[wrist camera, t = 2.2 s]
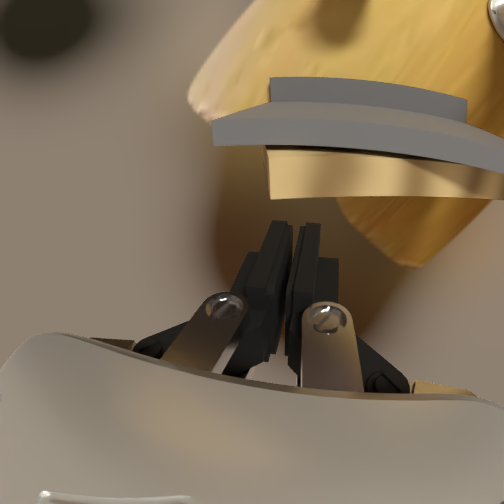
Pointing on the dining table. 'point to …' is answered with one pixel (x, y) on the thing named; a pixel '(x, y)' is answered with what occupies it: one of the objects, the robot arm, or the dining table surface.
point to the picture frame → (371, 174)
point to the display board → (363, 121)
